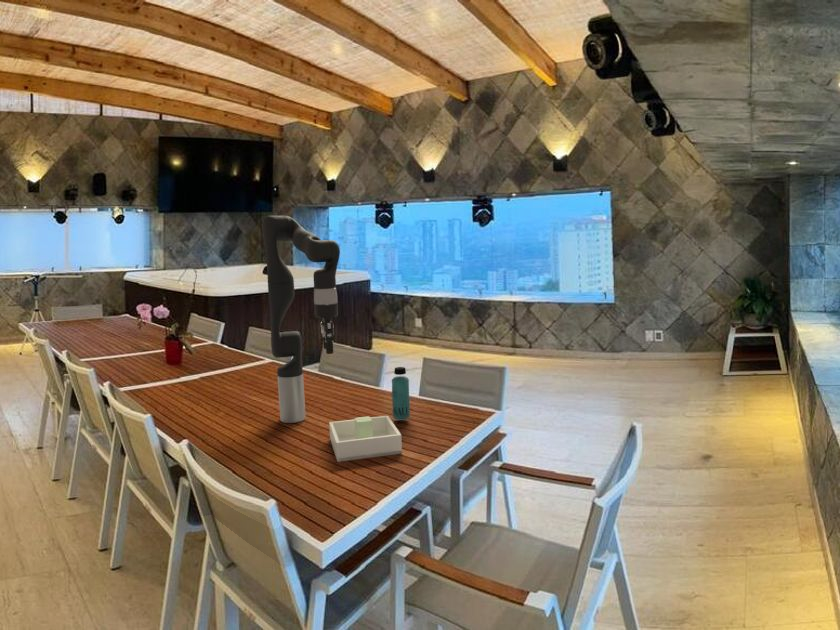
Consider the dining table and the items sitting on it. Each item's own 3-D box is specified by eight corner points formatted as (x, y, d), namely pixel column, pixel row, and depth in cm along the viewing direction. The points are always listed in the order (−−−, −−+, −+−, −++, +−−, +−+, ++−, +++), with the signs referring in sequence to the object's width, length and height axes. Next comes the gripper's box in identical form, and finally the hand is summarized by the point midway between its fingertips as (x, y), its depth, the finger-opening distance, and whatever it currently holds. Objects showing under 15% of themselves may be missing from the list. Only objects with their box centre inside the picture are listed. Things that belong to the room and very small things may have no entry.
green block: (355, 441, 183) (354, 417, 182) (370, 439, 185) (369, 416, 184) (358, 446, 179) (357, 422, 178) (373, 444, 180) (372, 420, 179)
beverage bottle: (402, 417, 210) (400, 364, 207) (414, 420, 205) (412, 367, 202) (388, 421, 205) (386, 367, 203) (401, 425, 201) (399, 370, 198)
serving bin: (330, 439, 189) (329, 422, 188) (388, 432, 194) (387, 415, 193) (337, 461, 170) (336, 442, 169) (402, 453, 175) (401, 434, 174)
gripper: (312, 300, 188) (315, 348, 191) (316, 305, 175) (318, 356, 177) (334, 299, 190) (337, 346, 193) (340, 303, 177) (342, 354, 179)
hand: (328, 351), depth 185 cm, fingers open, 8 cm apart
